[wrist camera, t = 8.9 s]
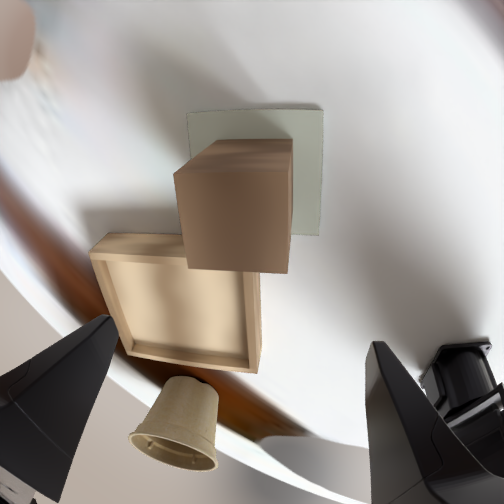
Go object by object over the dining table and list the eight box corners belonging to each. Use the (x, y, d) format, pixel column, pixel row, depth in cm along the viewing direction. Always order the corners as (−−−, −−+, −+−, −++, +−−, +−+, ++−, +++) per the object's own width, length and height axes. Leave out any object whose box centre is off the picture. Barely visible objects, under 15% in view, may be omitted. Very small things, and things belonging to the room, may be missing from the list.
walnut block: (292, 138, 17) (288, 172, 11) (292, 209, 19) (287, 273, 14) (216, 139, 18) (173, 173, 12) (222, 208, 20) (188, 268, 14)
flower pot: (251, 401, 32) (237, 469, 25) (196, 416, 36) (179, 473, 29) (188, 355, 29) (161, 429, 22) (140, 377, 33) (113, 436, 26)
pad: (322, 110, 16) (323, 110, 16) (318, 232, 20) (318, 235, 20) (188, 113, 18) (186, 113, 17) (201, 228, 22) (199, 231, 21)
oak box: (258, 237, 21) (252, 260, 19) (261, 347, 27) (257, 373, 24) (108, 232, 23) (88, 252, 21) (139, 332, 29) (127, 354, 26)
